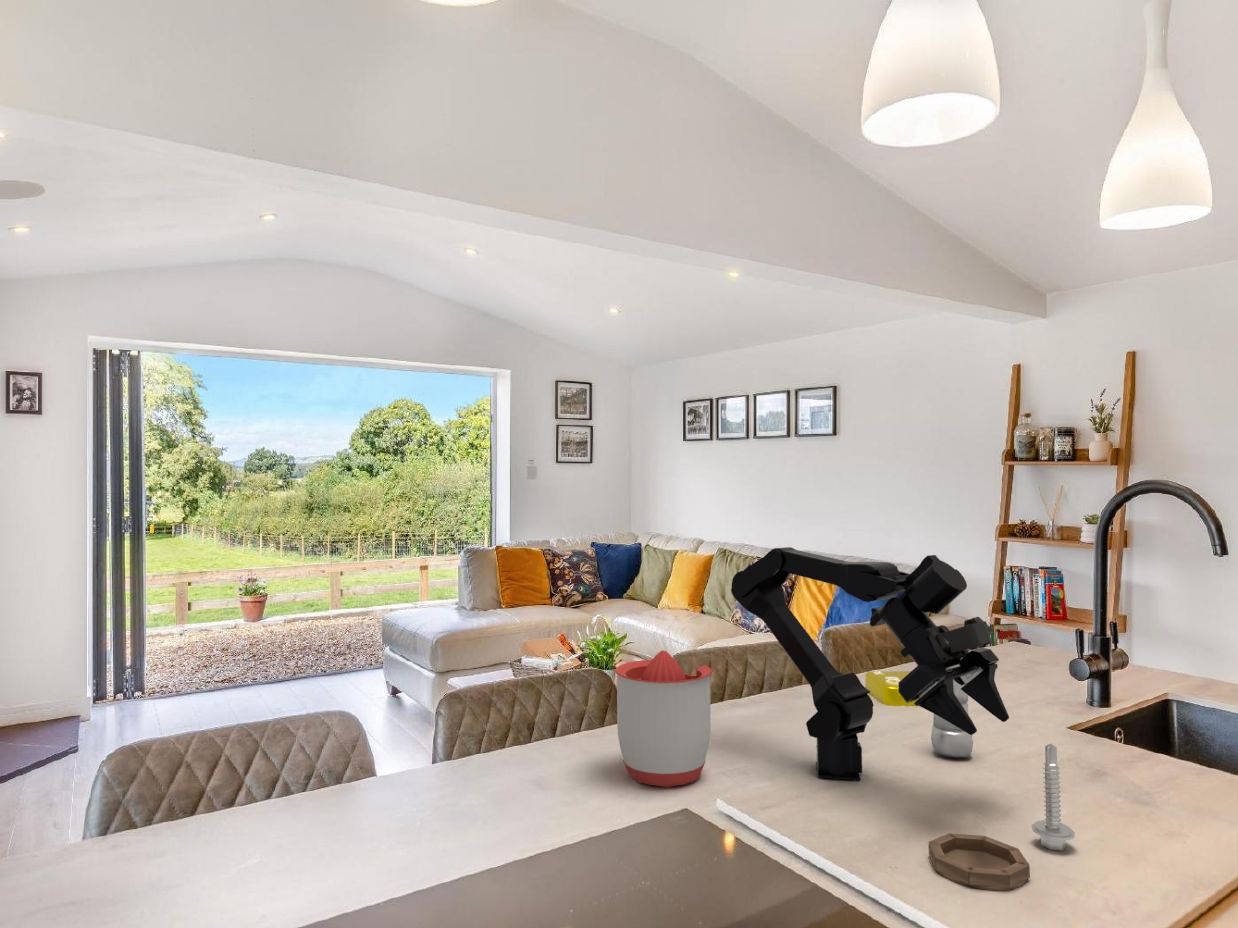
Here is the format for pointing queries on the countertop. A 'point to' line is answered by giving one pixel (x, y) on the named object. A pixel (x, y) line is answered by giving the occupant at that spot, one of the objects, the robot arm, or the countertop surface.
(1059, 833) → the screw
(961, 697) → the plastic bottle
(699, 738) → the citrus juicer
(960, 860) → the brown wooden tray
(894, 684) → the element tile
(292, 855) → the countertop surface
